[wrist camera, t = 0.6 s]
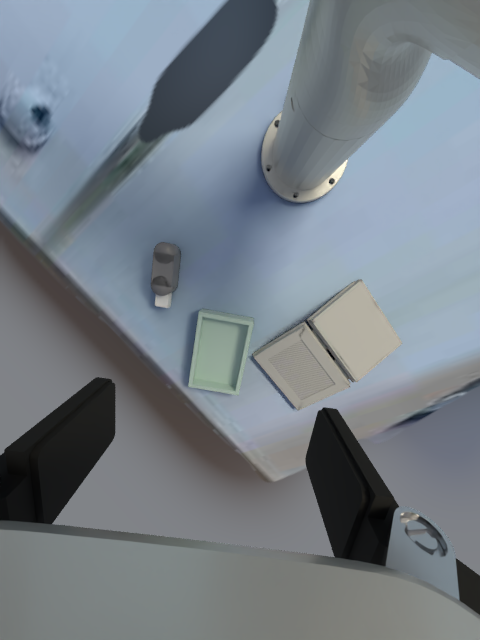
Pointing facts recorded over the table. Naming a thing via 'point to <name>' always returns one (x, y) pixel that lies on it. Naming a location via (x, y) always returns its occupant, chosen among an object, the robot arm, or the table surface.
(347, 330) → the gadget
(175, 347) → the table surface
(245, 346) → the tray
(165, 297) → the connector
